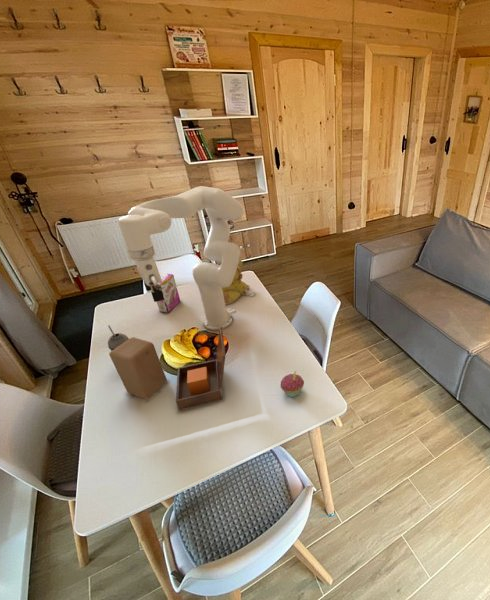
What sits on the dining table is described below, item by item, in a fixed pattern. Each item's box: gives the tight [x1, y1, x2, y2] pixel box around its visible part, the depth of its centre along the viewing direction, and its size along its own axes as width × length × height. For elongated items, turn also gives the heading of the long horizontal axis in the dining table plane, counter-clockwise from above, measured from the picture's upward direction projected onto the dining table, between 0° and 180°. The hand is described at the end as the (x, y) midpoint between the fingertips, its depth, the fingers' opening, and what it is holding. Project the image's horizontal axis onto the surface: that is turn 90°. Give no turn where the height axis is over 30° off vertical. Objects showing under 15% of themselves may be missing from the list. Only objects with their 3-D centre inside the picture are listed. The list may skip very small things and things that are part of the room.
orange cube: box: [187, 367, 210, 396], centre depth 124 cm, size 7×7×7 cm
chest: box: [175, 359, 223, 411], centre depth 125 cm, size 14×17×5 cm
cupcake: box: [279, 370, 305, 397], centre depth 123 cm, size 9×8×12 cm
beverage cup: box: [107, 324, 130, 352], centre depth 130 cm, size 7×7×20 cm
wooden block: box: [108, 336, 168, 400], centre depth 121 cm, size 10×10×20 cm
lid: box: [215, 327, 226, 390], centre depth 123 cm, size 15×17×1 cm
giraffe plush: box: [221, 259, 255, 305], centre depth 178 cm, size 20×24×19 cm
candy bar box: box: [156, 273, 181, 314], centre depth 168 cm, size 11×5×16 cm, turn 172°
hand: (155, 295), depth 123 cm, fingers open, 9 cm apart
